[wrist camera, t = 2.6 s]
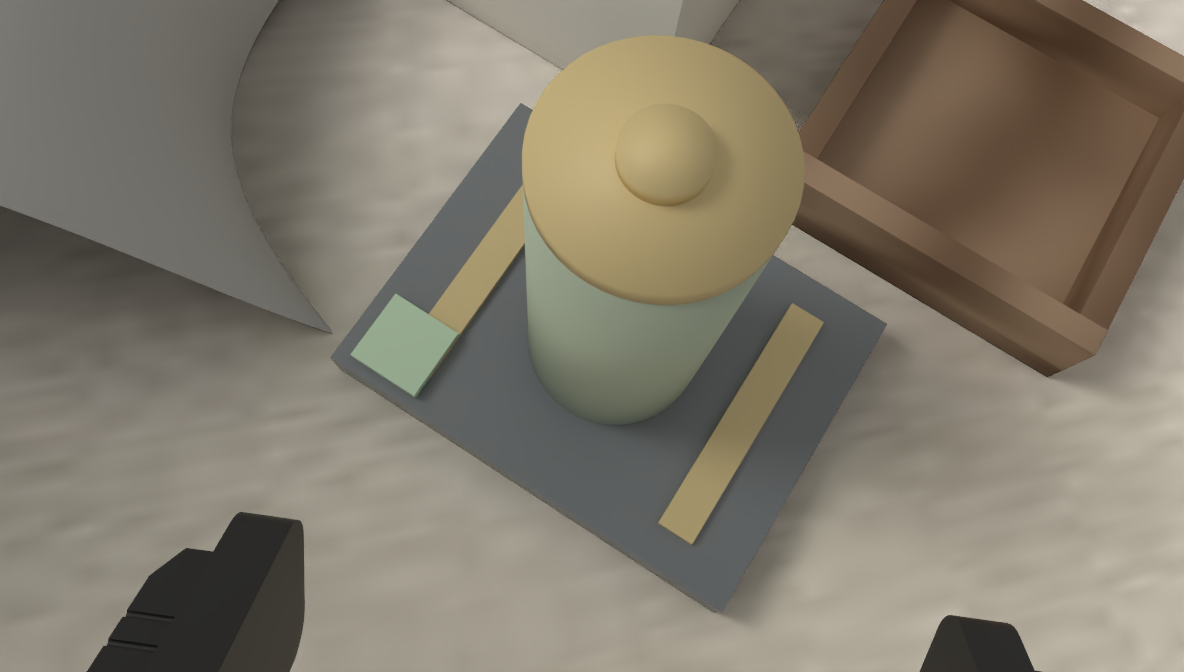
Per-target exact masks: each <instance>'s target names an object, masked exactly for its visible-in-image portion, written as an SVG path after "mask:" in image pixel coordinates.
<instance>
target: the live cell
mask: <svg viewBox="0 0 1184 672" xmlns="http://www.w3.org/2000/svg"><path fill="white" fill-rule="evenodd" d="M804 176H805V165H804V154H803V148H802V144H801V140H800V136H799V133H798V130H797V128H796V125H795V122H794V120H793V118H792V116H791V114H790V112H789V110H788V109H787V107H786V105H785V103H784V102H783V101H782V99H781V98H780V96H779V95H778V94H777V92H776V91H775V90H774V89H773V87H772V86H771V85H770V84H769V83H768V82H767V81H766V80H765V79H764V78H763V77H762V76H761V75H760V74H759V73H757V72H756V71H755V70H754V69H753V68H752V67H750V66H749V65H747V64H746V63H744V62H743V61H741V60H740V59H738V58H737V57H735V56H734V55H732V54H730V53H728V52H726V51H724V50H722V49H720V48H717V47H714V46H712V45H709V44H706V43H704V42H700V41H696V40H692V39H688V38H682V37H674V36H657V35H649V36H640V37H631V38H627V39H622V40H618V41H614V42H611V43H609V44H606V45H603V46H600V47H598V48H596V49H594V50H592V51H590V52H588V53H586V54H584V55H582V56H581V57H579V58H578V59H576V60H575V61H573V62H572V63H571V64H569V65H568V66H567V67H566V68H565V69H563V70H562V71H561V72H560V73H559V74H558V75H557V76H556V77H555V78H554V79H553V80H552V81H551V83H550V84H549V85H548V86H547V87H546V88H545V90H544V91H543V93H542V95H541V96H540V98H539V99H538V101H537V102H536V104H535V107H534V109H533V111H532V113H531V115H530V118H529V120H528V124H527V127H526V131H525V134H524V141H523V148H522V180H523V207H524V234H525V261H526V288H527V314H528V341H529V352H530V358H531V362H532V365H533V369H534V371H535V373H536V375H537V378H538V380H539V381H540V383H541V385H542V386H543V388H544V389H545V390H546V392H547V393H548V394H549V395H550V397H552V398H553V399H554V400H555V401H556V402H557V403H558V404H559V405H560V406H562V407H563V408H564V409H566V410H567V411H569V412H570V413H572V414H574V415H576V416H578V417H580V418H583V419H585V420H588V421H591V422H595V423H599V424H607V425H625V424H632V423H637V422H640V421H644V420H646V419H649V418H651V417H653V416H656V415H657V414H659V413H661V412H662V411H664V410H665V409H667V408H668V407H669V406H671V405H672V404H673V403H674V402H675V401H676V400H677V399H678V398H679V397H680V396H681V395H682V393H683V392H684V391H685V389H686V388H687V386H688V385H689V383H690V382H691V380H692V379H693V377H694V376H695V374H696V373H697V371H698V370H699V368H700V366H701V365H702V363H703V362H704V360H705V359H706V357H707V356H708V354H709V353H710V351H711V350H712V348H713V347H714V345H715V343H716V342H717V340H718V339H719V337H720V336H721V334H722V333H723V331H724V330H725V328H726V327H727V325H728V323H729V322H730V320H731V319H732V317H733V316H734V314H735V313H736V311H737V310H738V308H739V307H740V305H741V304H742V302H743V300H744V299H745V297H746V296H747V294H748V293H749V291H750V290H751V288H752V287H753V285H754V284H755V282H756V281H757V279H758V277H759V276H760V274H761V273H762V271H763V270H764V268H765V267H766V265H767V264H768V262H769V261H770V259H771V258H772V256H773V254H774V253H775V251H776V250H777V248H778V247H779V245H780V244H781V242H782V241H783V239H784V238H785V236H786V235H787V233H788V231H789V229H790V227H791V225H792V223H793V221H794V220H795V217H796V214H797V212H798V209H799V206H800V203H801V198H802V193H803V188H804Z"/></svg>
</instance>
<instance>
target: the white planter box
mask: <svg viewBox="0 0 1184 672" xmlns="http://www.w3.org/2000/svg"><path fill="white" fill-rule="evenodd" d="M447 1H449V2H450V3H452V4H454V5H455V6H457V7H459V8H460V9H462V10H464V11H466V12H467V13H469V14H471V15H472V16H474V17H476V18H477V19H479V20H481V21H482V22H484V23H486V24H487V25H489V26H491V27H492V28H494V29H496V30H497V31H499V32H501V33H502V34H504V35H506V36H507V37H509V38H511V39H512V40H514V41H516V42H518V43H519V44H521V45H523V46H524V47H526V48H528V49H529V50H531V51H533V52H534V53H536V54H538V55H539V56H541V57H543V58H544V59H546V60H548V61H549V62H551V63H553V64H554V65H556V66H558V67H559V68H561V69H565V68H566V67H567V66H568V65H569V64H571V63H572V62H573V61H575V60H576V59H578V58H579V57H581V56H582V55H584V54H586V53H588V52H590V51H592V50H594V49H596V48H598V47H600V46H603V45H606V44H609V43H611V42H614V41H618V40H622V39H627V38H631V37H640V36H649V35H657V36H674V37H682V38H688V39H692V40H696V41H700V42H704V43H706V44H710V42H711V41H712V40H713V38H714V37H715V35H716V34H717V32H718V31H719V29H720V28H721V27H722V25H723V24H724V22H725V21H726V19H727V18H728V16H729V15H730V14H731V12H732V11H733V9H734V8H735V6H736V5H737V4H738V2H739V1H740V0H447Z"/></svg>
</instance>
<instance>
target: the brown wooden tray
mask: <svg viewBox="0 0 1184 672" xmlns="http://www.w3.org/2000/svg"><path fill="white" fill-rule="evenodd" d="M799 136H800V140H801V144H802V148H803V154H804V165H805V176H804V188H803V193H802V198H801V203H800V206H799V209H798V212H797V214H796V217H795V220H794V221H793V223H792V225H794V226H796V227H797V228H799V229H801V230H802V231H804V232H806V233H807V234H809V235H811V236H812V237H814V238H816V239H817V240H819V241H821V242H823V243H824V244H826V245H828V246H829V247H831V248H833V249H834V250H836V251H838V252H839V253H841V254H843V255H844V256H846V257H848V258H849V259H851V260H853V261H854V262H856V263H858V264H859V265H861V266H863V267H864V268H866V269H868V270H869V271H871V272H873V273H874V274H876V275H878V276H879V277H881V278H883V279H884V280H886V281H888V282H889V283H891V284H893V285H894V286H896V287H898V288H899V289H901V290H903V291H904V292H906V293H908V294H909V295H911V296H913V297H914V298H916V299H918V300H919V301H921V302H923V303H924V304H926V305H928V306H929V307H931V308H933V309H934V310H936V311H938V312H939V313H941V314H943V315H944V316H946V317H948V318H949V319H951V320H953V321H954V322H956V323H958V324H960V325H961V326H963V327H965V328H966V329H968V330H970V331H971V332H973V333H975V334H976V335H978V336H980V337H981V338H983V339H985V340H986V341H988V342H990V343H991V344H993V345H995V346H996V347H998V348H1000V349H1001V350H1003V351H1005V352H1006V353H1008V354H1010V355H1011V356H1013V357H1015V358H1016V359H1018V360H1020V361H1021V362H1023V363H1025V364H1026V365H1028V366H1030V367H1031V368H1033V369H1035V370H1036V371H1038V372H1040V373H1041V374H1043V375H1045V376H1046V377H1049V376H1051V375H1053V374H1055V373H1057V372H1060V371H1062V370H1064V369H1066V368H1068V367H1070V366H1072V365H1075V364H1077V363H1079V362H1081V361H1083V360H1085V359H1087V358H1090V357H1092V356H1094V355H1095V354H1096V352H1097V350H1098V348H1099V346H1100V344H1101V342H1102V340H1103V338H1104V336H1105V334H1106V332H1107V330H1108V328H1109V326H1110V324H1111V322H1112V320H1113V318H1114V316H1115V314H1116V312H1117V310H1118V308H1119V306H1120V304H1121V302H1122V300H1123V298H1124V296H1125V294H1126V292H1127V290H1128V288H1129V286H1130V284H1131V282H1132V280H1133V278H1134V276H1135V274H1136V272H1137V270H1138V268H1139V266H1140V264H1141V262H1142V260H1143V258H1144V256H1145V254H1146V252H1147V250H1148V248H1149V246H1150V244H1151V242H1152V240H1153V238H1154V236H1155V234H1156V232H1157V230H1158V228H1159V226H1160V224H1161V222H1162V221H1163V219H1164V217H1165V215H1166V213H1167V211H1168V209H1169V207H1170V205H1171V203H1172V201H1173V199H1174V197H1175V195H1176V193H1177V191H1178V189H1179V187H1180V185H1181V183H1182V181H1183V179H1184V56H1182V55H1181V54H1179V53H1177V52H1175V51H1173V50H1172V49H1170V48H1168V47H1166V46H1164V45H1163V44H1161V43H1159V42H1157V41H1155V40H1153V39H1152V38H1150V37H1148V36H1146V35H1144V34H1143V33H1141V32H1139V31H1137V30H1135V29H1134V28H1132V27H1130V26H1128V25H1126V24H1124V23H1123V22H1121V21H1119V20H1117V19H1115V18H1114V17H1112V16H1110V15H1108V14H1106V13H1105V12H1103V11H1101V10H1099V9H1097V8H1095V7H1094V6H1092V5H1090V4H1088V3H1086V2H1085V1H1083V0H884V1H883V2H882V4H881V6H880V7H879V9H878V10H877V12H876V13H875V15H874V16H873V18H872V20H871V21H870V23H869V24H868V26H867V27H866V29H865V30H864V32H863V34H862V35H861V37H860V38H859V40H858V41H857V43H856V44H855V46H854V48H853V49H852V51H851V52H850V54H849V55H848V57H847V58H846V60H845V62H844V63H843V65H842V66H841V68H840V69H839V71H838V72H837V74H836V76H835V77H834V79H833V80H832V82H831V83H830V85H829V86H828V88H827V90H826V91H825V93H824V94H823V96H822V97H821V99H820V101H819V102H818V104H817V105H816V107H815V108H814V110H813V111H812V113H811V115H810V116H809V118H808V119H807V121H806V122H805V124H804V125H803V127H802V129H801V130H800V132H799Z"/></svg>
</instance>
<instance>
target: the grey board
mask: <svg viewBox="0 0 1184 672" xmlns="http://www.w3.org/2000/svg"><path fill="white" fill-rule="evenodd" d="M532 111H533V110H532V109H530V108H528V107H527V106H525V105H523V104H522V103H520V105H519V106H518V107H517V109H516V110H515V111H514V113H513V114H512V115H511V117H510V118H509V119H508V121H507V122H506V123H505V125H504V126H503V127H502V129H501V130H500V131H499V133H498V134H497V135H496V137H495V138H494V139H493V141H492V142H491V143H490V145H489V146H488V148H487V149H486V150H485V152H484V153H483V154H482V156H481V157H480V158H479V160H478V161H477V162H476V164H475V165H474V166H473V168H472V169H471V170H470V172H469V173H468V174H467V176H466V177H465V178H464V180H463V181H462V182H461V184H460V185H459V186H458V188H457V189H456V190H455V192H454V193H453V194H452V196H451V197H450V198H449V200H448V201H447V202H446V204H445V205H444V206H443V208H442V209H441V210H440V212H439V213H438V214H437V216H436V217H435V219H434V220H433V221H432V223H431V224H430V225H429V227H428V228H427V229H426V231H425V232H424V233H423V235H422V236H421V237H420V239H419V240H418V241H417V243H416V244H415V245H414V247H413V248H412V249H411V251H410V252H409V253H408V255H407V256H406V257H405V259H404V260H403V261H402V263H401V264H400V265H399V267H398V268H397V269H396V271H395V272H394V273H393V275H392V276H391V277H390V279H389V280H388V281H387V283H386V284H385V285H384V287H383V288H382V290H381V291H380V292H379V294H378V295H377V296H376V298H375V299H374V300H373V302H372V303H371V304H370V306H369V307H368V308H367V310H366V311H365V312H364V314H363V315H362V316H361V318H360V319H359V320H358V322H357V323H356V324H355V326H354V327H353V328H352V330H351V331H350V332H349V334H348V335H347V336H346V338H345V339H344V340H343V342H342V343H341V344H340V346H339V347H338V348H337V350H336V351H335V352H334V354H333V355H332V356H331V359H332V360H333V361H334V362H335V363H336V365H337V366H338V367H339V368H340V369H341V370H343V371H344V372H346V373H347V374H349V375H350V376H352V377H353V378H355V379H356V380H358V381H359V382H361V383H363V384H364V385H366V386H367V387H369V388H370V389H372V390H373V391H375V392H376V393H378V394H379V395H381V396H382V397H384V398H386V399H387V400H389V401H390V402H392V403H393V404H395V405H396V406H398V407H399V408H401V409H402V410H404V411H405V412H407V413H409V414H410V415H412V416H413V417H415V418H416V419H418V420H419V421H421V422H422V423H424V424H425V425H427V426H428V427H430V428H432V429H433V430H435V431H436V432H438V433H439V434H441V435H442V436H444V437H445V438H447V439H448V440H450V441H451V442H453V443H454V444H456V445H458V446H459V447H461V448H462V449H464V450H465V451H467V452H468V453H470V454H471V455H473V456H474V457H476V458H477V459H479V460H481V461H482V462H484V463H485V464H487V465H488V466H490V467H491V468H493V469H494V470H496V471H497V472H499V473H500V474H502V475H504V476H505V477H507V478H508V479H510V480H511V481H513V482H514V483H516V484H517V485H519V486H520V487H522V488H523V489H525V490H527V491H528V492H530V493H531V494H533V495H534V496H536V497H537V498H539V499H540V500H542V501H543V502H545V503H546V504H548V505H550V506H551V507H553V508H554V509H556V510H557V511H559V512H560V513H562V514H563V515H565V516H566V517H568V518H569V519H571V520H573V521H574V522H576V523H577V524H579V525H580V526H582V527H583V528H585V529H586V530H588V531H589V532H591V533H592V534H594V535H596V536H597V537H599V538H600V539H602V540H603V541H605V542H606V543H608V544H609V545H611V546H612V547H614V548H615V549H617V550H619V551H620V552H622V553H623V554H625V555H626V556H628V557H629V558H631V559H632V560H634V561H635V562H637V563H638V564H640V565H642V566H643V567H645V568H646V569H648V570H649V571H651V572H652V573H654V574H655V575H657V576H658V577H660V578H661V579H663V580H665V581H666V582H668V583H669V584H671V585H672V586H674V587H675V588H677V589H678V590H680V591H681V592H683V593H684V594H686V595H687V596H689V597H691V598H692V599H694V600H695V601H697V602H698V603H700V604H701V605H703V606H704V607H706V608H707V609H709V610H710V611H712V612H722V611H723V609H724V607H725V606H726V604H727V602H728V600H729V599H730V597H731V595H732V593H733V592H734V590H735V588H736V586H737V585H738V583H739V581H740V580H741V578H742V576H743V574H744V573H745V571H746V569H747V567H748V566H749V564H750V562H751V560H752V559H753V557H754V555H755V553H756V552H757V550H758V548H759V546H760V545H761V543H762V541H763V539H764V538H765V536H766V534H767V532H768V531H769V529H770V527H771V525H772V524H773V522H774V520H775V518H776V517H777V515H778V513H779V512H780V510H781V508H782V506H783V505H784V503H785V501H786V499H787V498H788V496H789V494H790V492H791V491H792V489H793V487H794V485H795V484H796V482H797V480H798V478H799V477H800V475H801V473H802V471H803V470H804V468H805V466H806V464H807V463H808V461H809V459H810V457H811V456H812V454H813V452H814V451H815V449H816V447H817V445H818V444H819V442H820V440H821V438H822V437H823V435H824V433H825V431H826V430H827V428H828V426H829V424H830V423H831V421H832V419H833V417H834V416H835V414H836V412H837V410H838V409H839V407H840V405H841V403H842V402H843V400H844V398H845V396H846V395H847V393H848V391H849V389H850V388H851V386H852V384H853V383H854V381H855V379H856V377H857V376H858V374H859V372H860V370H861V369H862V367H863V365H864V363H865V362H866V360H867V358H868V356H869V355H870V353H871V351H872V349H873V348H874V346H875V344H876V342H877V341H878V339H879V337H880V335H881V334H882V332H883V330H884V328H885V327H886V325H887V324H886V323H884V322H883V321H881V320H879V319H878V318H876V317H874V316H873V315H871V314H869V313H868V312H866V311H865V310H863V309H861V308H860V307H858V306H856V305H855V304H853V303H851V302H850V301H848V300H846V299H845V298H843V297H841V296H840V295H838V294H836V293H835V292H833V291H831V290H830V289H828V288H826V287H825V286H823V285H821V284H820V283H818V282H816V281H815V280H813V279H812V278H810V277H808V276H807V275H805V274H803V273H802V272H800V271H798V270H797V269H795V268H793V267H792V266H790V265H788V264H787V263H785V262H783V261H782V260H780V259H778V258H777V257H775V256H772V258H771V259H770V261H769V262H768V264H767V265H766V267H765V268H764V270H763V271H762V273H761V274H760V276H759V277H758V279H757V281H756V282H755V284H754V285H753V287H752V288H751V290H750V291H749V293H748V294H747V296H746V297H745V299H744V300H743V302H742V304H741V305H740V307H739V308H738V310H737V311H736V313H735V314H734V316H733V317H732V319H731V320H730V322H729V323H728V325H727V327H726V328H725V330H724V331H723V333H722V334H721V336H720V337H719V339H718V340H717V342H716V343H715V345H714V347H713V348H712V350H711V351H710V353H709V354H708V356H707V357H706V359H705V360H704V362H703V363H702V365H701V366H700V368H699V370H698V371H697V373H696V374H695V376H694V377H693V379H692V380H691V382H690V383H689V385H688V386H687V388H686V389H685V391H684V392H683V393H682V395H681V396H680V397H679V398H678V399H677V400H676V401H675V402H674V403H673V404H672V405H671V406H669V407H668V408H667V409H665V410H664V411H662V412H661V413H659V414H657V415H656V416H653V417H651V418H649V419H646V420H644V421H640V422H637V423H632V424H625V425H607V424H599V423H595V422H591V421H588V420H585V419H583V418H580V417H578V416H576V415H574V414H572V413H570V412H569V411H567V410H566V409H564V408H563V407H562V406H560V405H559V404H558V403H557V402H556V401H555V400H554V399H553V398H552V397H550V395H549V394H548V393H547V392H546V390H545V389H544V388H543V386H542V385H541V383H540V381H539V380H538V378H537V375H536V373H535V371H534V369H533V365H532V362H531V358H530V352H529V341H528V314H527V288H526V261H525V234H524V207H523V180H522V148H523V141H524V134H525V131H526V127H527V124H528V120H529V118H530V115H531V113H532Z"/></svg>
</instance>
